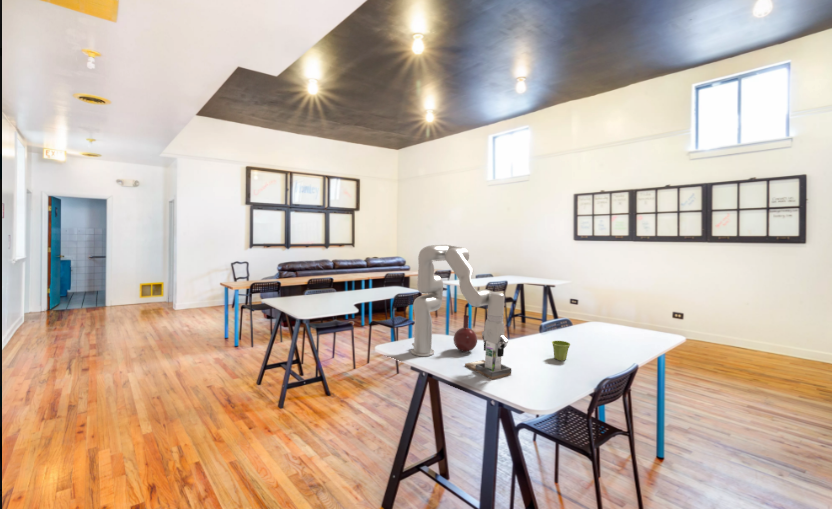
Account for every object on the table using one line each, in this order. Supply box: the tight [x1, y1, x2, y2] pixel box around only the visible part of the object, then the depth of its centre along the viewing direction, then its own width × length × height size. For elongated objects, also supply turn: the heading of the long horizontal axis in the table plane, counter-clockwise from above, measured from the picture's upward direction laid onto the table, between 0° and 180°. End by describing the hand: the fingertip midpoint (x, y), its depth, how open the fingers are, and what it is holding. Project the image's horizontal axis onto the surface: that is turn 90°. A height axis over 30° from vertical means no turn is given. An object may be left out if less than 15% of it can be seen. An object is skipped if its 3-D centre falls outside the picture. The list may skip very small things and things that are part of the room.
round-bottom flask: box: [453, 314, 478, 353], centre depth 236 cm, size 13×13×20 cm
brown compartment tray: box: [464, 359, 512, 380], centre depth 208 cm, size 20×12×3 cm, turn 32°
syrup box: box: [484, 341, 502, 372], centre depth 204 cm, size 6×6×14 cm
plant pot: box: [551, 340, 571, 361], centre depth 228 cm, size 9×9×9 cm
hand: (493, 353), depth 204 cm, fingers open, 9 cm apart
